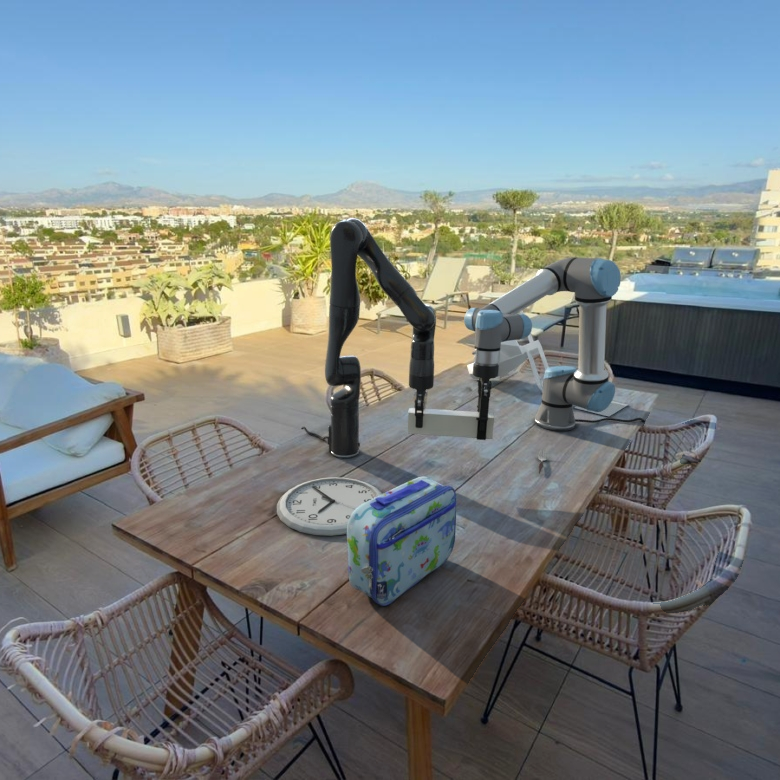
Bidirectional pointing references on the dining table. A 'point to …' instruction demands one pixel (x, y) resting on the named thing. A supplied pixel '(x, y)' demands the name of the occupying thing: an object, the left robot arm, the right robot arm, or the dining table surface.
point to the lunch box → (400, 538)
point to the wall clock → (324, 504)
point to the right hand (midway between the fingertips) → (480, 435)
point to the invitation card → (608, 409)
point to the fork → (542, 460)
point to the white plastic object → (517, 357)
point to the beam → (449, 423)
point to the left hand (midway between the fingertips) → (419, 424)
